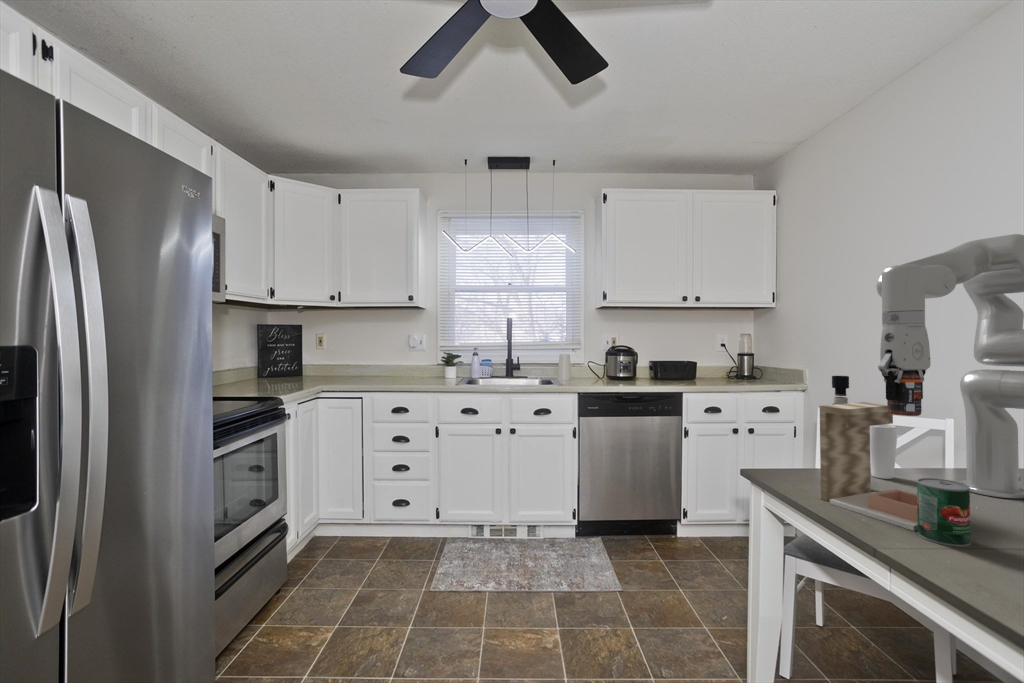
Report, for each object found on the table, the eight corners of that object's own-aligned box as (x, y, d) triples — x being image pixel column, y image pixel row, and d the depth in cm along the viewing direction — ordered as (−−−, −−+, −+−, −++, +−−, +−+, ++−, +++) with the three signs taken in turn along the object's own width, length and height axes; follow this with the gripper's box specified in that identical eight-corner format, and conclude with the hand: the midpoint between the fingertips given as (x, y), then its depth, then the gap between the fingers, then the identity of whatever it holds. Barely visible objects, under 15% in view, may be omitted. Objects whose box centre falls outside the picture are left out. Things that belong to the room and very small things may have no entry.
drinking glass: (903, 481, 132) (902, 427, 132) (875, 480, 134) (874, 427, 134) (888, 474, 139) (888, 423, 139) (863, 473, 140) (862, 423, 140)
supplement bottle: (921, 417, 102) (920, 365, 102) (886, 415, 106) (885, 364, 106) (922, 414, 107) (921, 364, 107) (888, 411, 111) (887, 363, 111)
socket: (874, 495, 120) (874, 479, 120) (961, 520, 104) (960, 501, 104) (829, 503, 115) (829, 487, 115) (913, 530, 98) (913, 511, 98)
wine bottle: (828, 480, 134) (826, 375, 134) (856, 484, 130) (854, 375, 130) (827, 486, 129) (825, 376, 129) (856, 490, 125) (854, 377, 125)
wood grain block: (864, 491, 124) (863, 402, 124) (894, 499, 117) (892, 405, 117) (820, 499, 118) (819, 405, 118) (849, 508, 112) (847, 409, 112)
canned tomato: (965, 550, 89) (964, 492, 89) (912, 537, 95) (911, 482, 95) (975, 539, 93) (974, 484, 94) (923, 527, 100) (922, 475, 100)
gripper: (896, 319, 100) (897, 403, 100) (947, 319, 106) (948, 399, 106) (859, 320, 107) (860, 399, 107) (909, 321, 113) (910, 396, 113)
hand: (904, 398), depth 107 cm, fingers closed on supplement bottle, 6 cm apart
